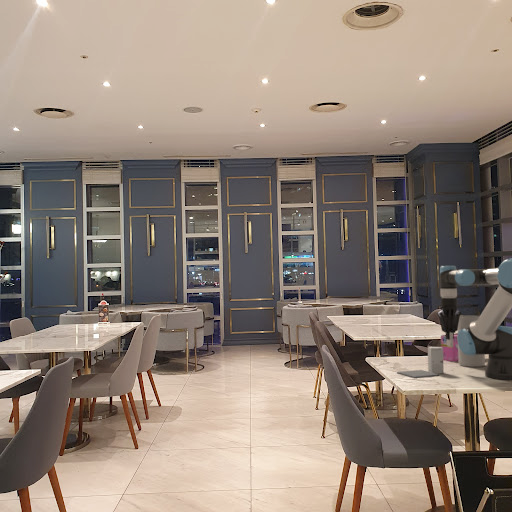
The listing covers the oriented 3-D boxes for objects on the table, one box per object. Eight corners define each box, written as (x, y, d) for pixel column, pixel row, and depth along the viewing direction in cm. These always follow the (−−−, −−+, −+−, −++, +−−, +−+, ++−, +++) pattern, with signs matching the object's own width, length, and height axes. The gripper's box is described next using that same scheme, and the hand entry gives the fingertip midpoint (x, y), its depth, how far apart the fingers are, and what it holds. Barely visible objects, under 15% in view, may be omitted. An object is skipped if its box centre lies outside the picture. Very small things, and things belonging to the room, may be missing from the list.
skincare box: (431, 373, 244) (430, 348, 245) (427, 372, 249) (427, 346, 249) (444, 373, 245) (443, 347, 245) (440, 371, 249) (439, 346, 250)
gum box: (465, 355, 298) (465, 332, 299) (478, 357, 292) (477, 333, 293) (440, 360, 284) (440, 335, 285) (453, 361, 278) (452, 336, 279)
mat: (439, 375, 240) (439, 374, 240) (414, 378, 235) (414, 376, 235) (421, 371, 252) (421, 369, 252) (397, 373, 247) (396, 372, 247)
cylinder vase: (490, 366, 261) (488, 316, 262) (467, 367, 259) (465, 317, 260) (476, 362, 273) (474, 315, 274) (454, 363, 271) (452, 315, 272)
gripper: (454, 296, 258) (455, 344, 257) (432, 297, 253) (433, 346, 252) (465, 297, 251) (466, 346, 250) (443, 298, 246) (444, 348, 245)
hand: (450, 346), depth 251 cm, fingers closed
